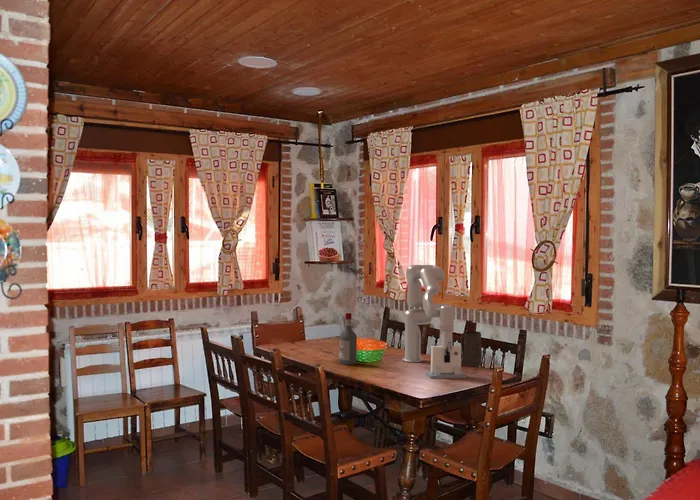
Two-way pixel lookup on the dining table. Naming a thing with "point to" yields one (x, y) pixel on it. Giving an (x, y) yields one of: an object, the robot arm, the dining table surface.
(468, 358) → the beer stein
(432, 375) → the hinge plate
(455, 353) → the cabinet door
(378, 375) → the dining table surface
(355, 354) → the liquor
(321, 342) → the dining table surface
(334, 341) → the dining table surface
